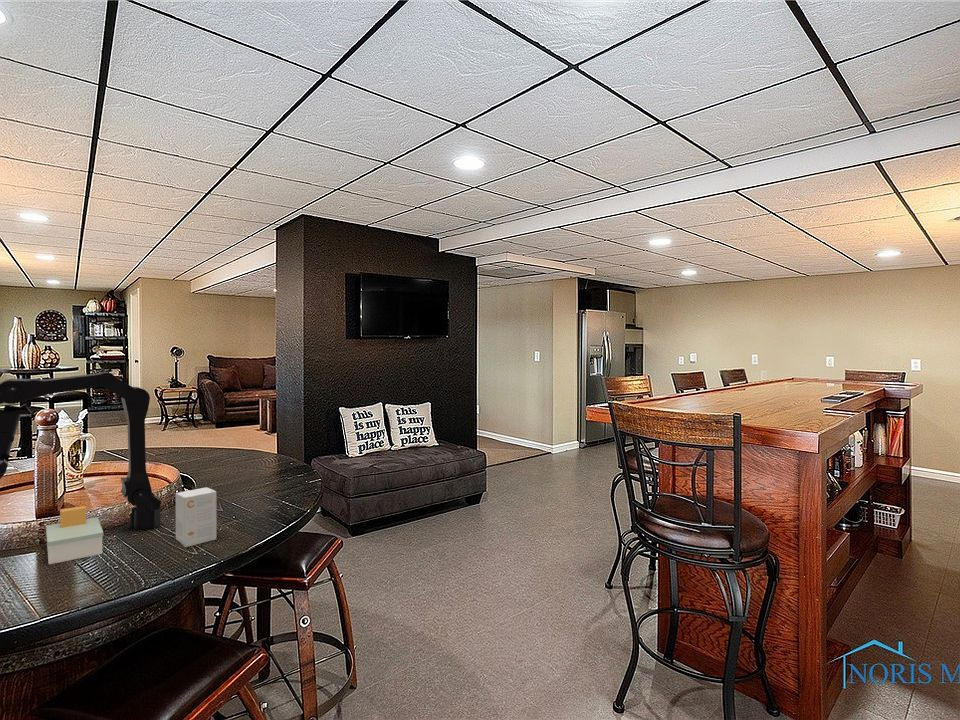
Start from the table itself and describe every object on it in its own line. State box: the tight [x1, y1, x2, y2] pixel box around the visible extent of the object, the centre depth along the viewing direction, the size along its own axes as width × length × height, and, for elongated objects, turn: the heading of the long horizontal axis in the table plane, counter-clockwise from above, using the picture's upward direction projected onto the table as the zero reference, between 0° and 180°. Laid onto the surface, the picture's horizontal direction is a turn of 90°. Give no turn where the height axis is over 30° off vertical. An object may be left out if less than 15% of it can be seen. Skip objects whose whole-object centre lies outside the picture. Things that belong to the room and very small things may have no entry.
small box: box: [174, 487, 217, 548], centre depth 137 cm, size 8×6×13 cm
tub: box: [46, 537, 103, 565], centre depth 128 cm, size 14×10×5 cm
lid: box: [45, 505, 104, 548], centre depth 128 cm, size 14×10×6 cm
